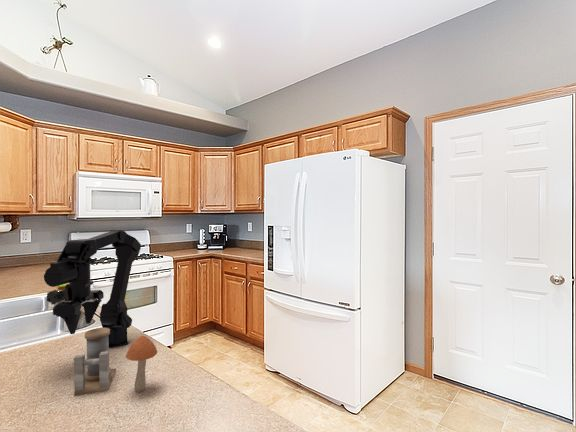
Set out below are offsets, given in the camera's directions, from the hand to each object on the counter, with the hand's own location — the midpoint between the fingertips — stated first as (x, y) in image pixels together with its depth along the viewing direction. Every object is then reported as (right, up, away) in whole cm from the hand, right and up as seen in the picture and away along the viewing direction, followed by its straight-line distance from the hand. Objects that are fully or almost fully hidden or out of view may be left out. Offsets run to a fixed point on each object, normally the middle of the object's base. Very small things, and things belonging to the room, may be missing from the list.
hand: (80, 328), depth 104 cm
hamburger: (-71, -11, +99) cm, 122 cm away
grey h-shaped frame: (+11, -12, -10) cm, 19 cm away
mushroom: (+26, -12, -14) cm, 31 cm away
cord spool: (+10, -11, -8) cm, 17 cm away
